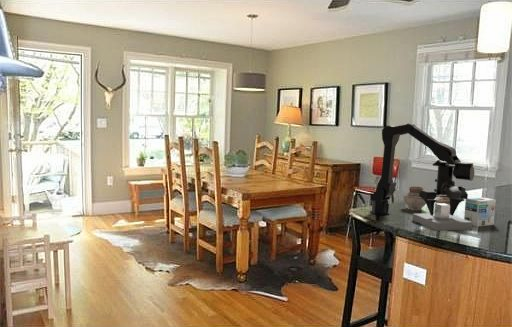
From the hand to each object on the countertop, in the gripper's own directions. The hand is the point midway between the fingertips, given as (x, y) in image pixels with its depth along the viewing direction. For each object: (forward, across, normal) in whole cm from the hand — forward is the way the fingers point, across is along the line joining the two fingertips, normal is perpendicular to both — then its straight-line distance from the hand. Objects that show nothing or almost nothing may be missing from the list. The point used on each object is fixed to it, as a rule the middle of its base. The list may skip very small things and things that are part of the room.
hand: (441, 215), depth 175 cm
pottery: (+4, +11, +24) cm, 27 cm away
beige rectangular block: (+3, 0, 0) cm, 3 cm away
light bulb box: (+4, +18, 0) cm, 18 cm away
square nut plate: (+4, 0, 0) cm, 4 cm away
